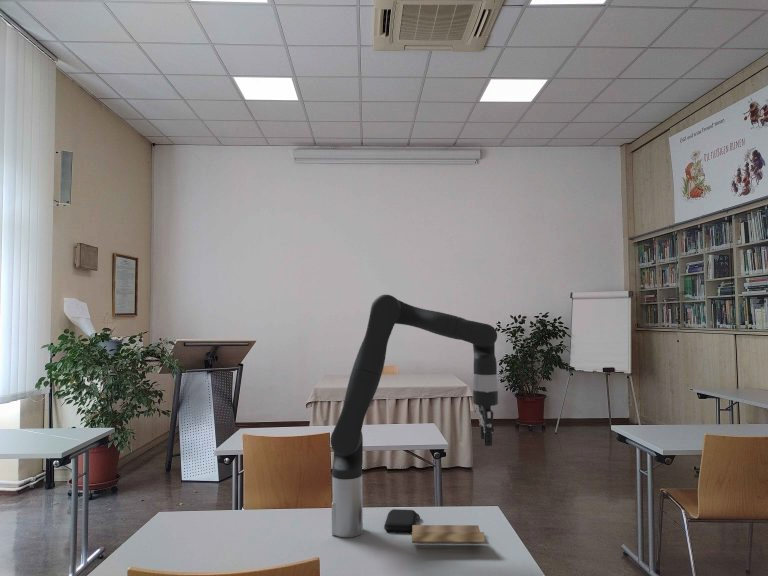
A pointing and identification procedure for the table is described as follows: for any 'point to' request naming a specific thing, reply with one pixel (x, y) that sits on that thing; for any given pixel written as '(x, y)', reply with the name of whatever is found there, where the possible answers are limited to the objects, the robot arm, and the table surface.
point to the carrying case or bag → (401, 521)
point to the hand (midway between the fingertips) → (486, 442)
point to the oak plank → (448, 537)
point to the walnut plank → (445, 528)
